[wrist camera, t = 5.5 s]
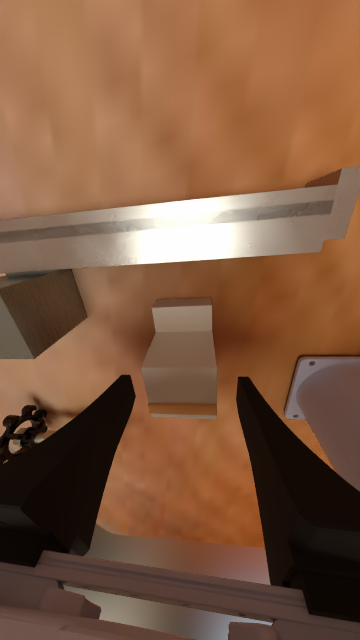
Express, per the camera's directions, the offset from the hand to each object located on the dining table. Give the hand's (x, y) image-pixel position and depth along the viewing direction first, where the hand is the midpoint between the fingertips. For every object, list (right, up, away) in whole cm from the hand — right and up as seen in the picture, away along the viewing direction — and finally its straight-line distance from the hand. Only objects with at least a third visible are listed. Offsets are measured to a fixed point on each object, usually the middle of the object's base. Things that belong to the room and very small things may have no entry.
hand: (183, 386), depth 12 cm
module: (0, +3, +4) cm, 6 cm away
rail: (-3, +9, +2) cm, 9 cm away
